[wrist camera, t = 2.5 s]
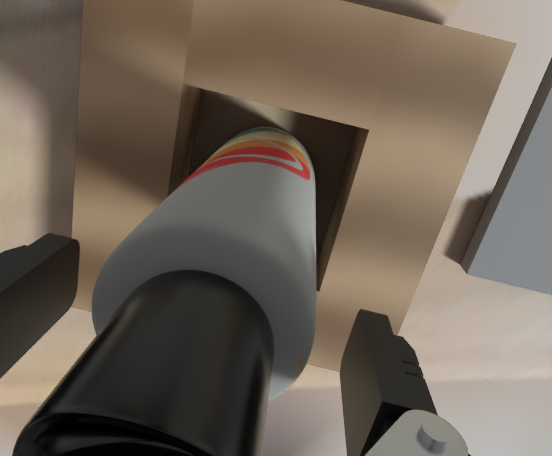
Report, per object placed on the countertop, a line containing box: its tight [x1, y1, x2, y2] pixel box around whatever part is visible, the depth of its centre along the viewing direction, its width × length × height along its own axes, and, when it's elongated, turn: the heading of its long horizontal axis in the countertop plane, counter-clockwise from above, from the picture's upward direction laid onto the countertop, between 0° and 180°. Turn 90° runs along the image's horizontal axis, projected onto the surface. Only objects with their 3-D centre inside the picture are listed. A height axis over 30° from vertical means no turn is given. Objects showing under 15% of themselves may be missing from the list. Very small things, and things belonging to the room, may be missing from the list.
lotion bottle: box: [13, 127, 316, 456], centre depth 15 cm, size 6×6×20 cm
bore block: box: [71, 0, 516, 372], centre depth 23 cm, size 18×18×4 cm
